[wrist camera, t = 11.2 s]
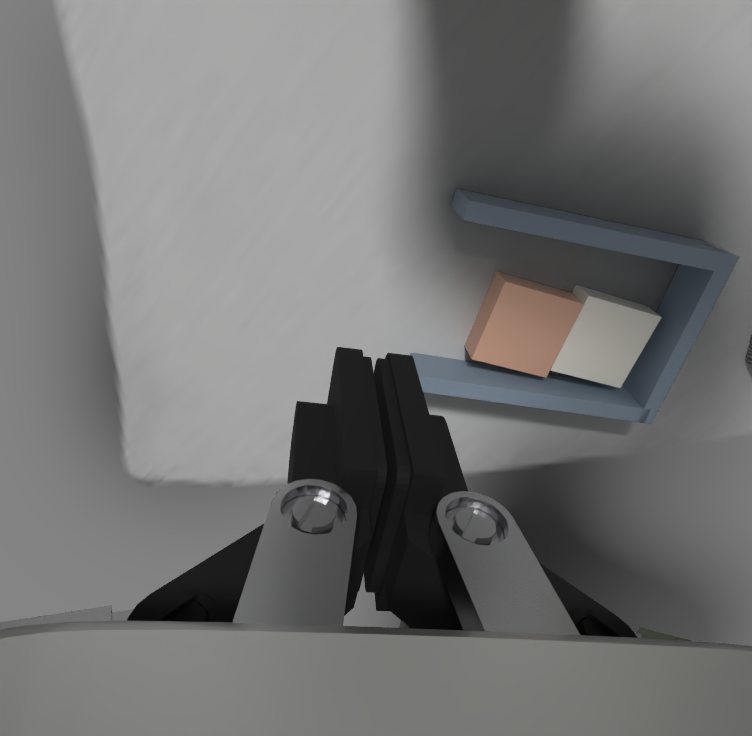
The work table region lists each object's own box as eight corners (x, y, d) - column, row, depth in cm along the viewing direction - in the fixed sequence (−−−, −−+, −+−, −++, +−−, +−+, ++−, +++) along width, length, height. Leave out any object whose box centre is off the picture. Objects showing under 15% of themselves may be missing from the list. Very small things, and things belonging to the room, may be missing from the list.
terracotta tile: (494, 269, 40) (505, 281, 37) (569, 290, 41) (583, 304, 39) (463, 343, 42) (471, 359, 40) (534, 361, 44) (546, 377, 41)
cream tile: (573, 283, 41) (588, 295, 39) (643, 303, 42) (661, 317, 40) (538, 354, 43) (550, 370, 41) (605, 372, 45) (620, 388, 42)
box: (456, 188, 36) (469, 200, 33) (706, 241, 40) (739, 256, 37) (407, 366, 42) (414, 390, 39) (628, 399, 46) (651, 423, 43)
